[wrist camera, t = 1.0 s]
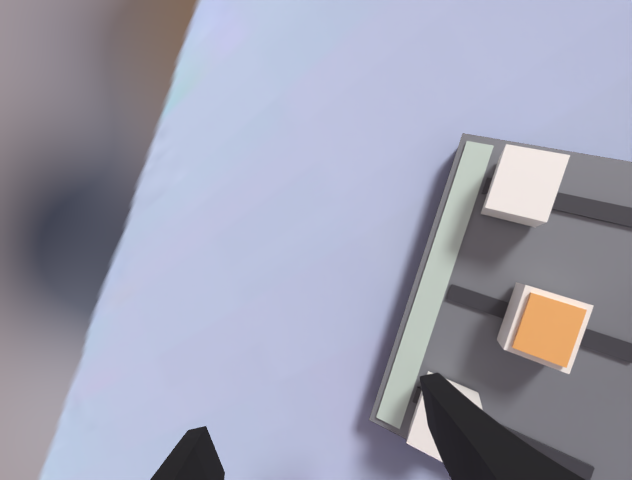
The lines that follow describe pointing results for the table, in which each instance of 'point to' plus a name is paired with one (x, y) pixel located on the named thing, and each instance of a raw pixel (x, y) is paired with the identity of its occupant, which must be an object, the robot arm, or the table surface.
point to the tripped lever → (544, 327)
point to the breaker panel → (492, 301)
